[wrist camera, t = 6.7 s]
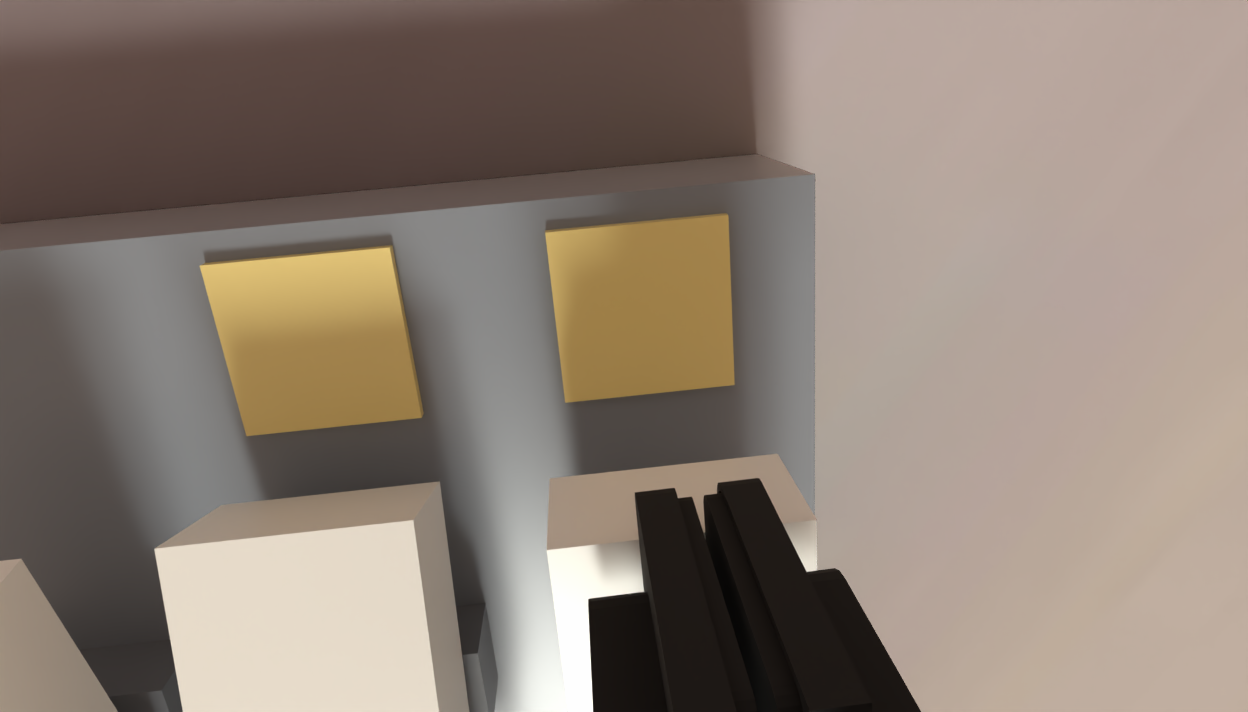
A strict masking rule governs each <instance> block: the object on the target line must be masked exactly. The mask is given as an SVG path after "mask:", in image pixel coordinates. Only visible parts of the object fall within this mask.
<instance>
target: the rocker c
mask: <svg viewBox="0 0 1248 712" xmlns="http://www.w3.org/2000/svg"><path fill="white" fill-rule="evenodd" d="M753 478H759V479H760V480H761V482H762V483H763V486H764V488H765V490H766V492H767V494H768V496H769V498H770V500H771V502H772V504H773V506H774V508H775V510H776V512H777V514H778V516H779V518H780V520H781V522H782V524H783V526H784V528H785V530H786V532H787V534H788V536H789V538H790V540H791V542H792V544H793V546H794V548H795V550H796V552H797V554H798V556H799V558H800V560H801V562H802V564H803V566H804V568H805V570H806V572H809V571H817V519H816V517H815V516H814V514H813V512H812V511H811V509H810V507H809V506H808V504H807V502H806V501H805V499H804V497H803V496H802V494H801V492H800V491H799V489H798V487H797V486H796V484H795V482H794V480H793V479H792V477H791V475H790V474H789V472H788V470H787V469H786V467H785V465H784V464H783V462H782V460H781V459H780V457H779V455H778V454H770V455H761V456H752V457H743V458H733V459H724V460H715V461H706V462H697V463H687V464H678V465H669V466H660V467H651V468H642V469H632V470H623V471H614V472H605V473H596V474H586V475H577V476H568V477H559V478H550V482H549V505H548V528H547V557H548V565H549V572H550V579H551V587H552V594H553V602H554V609H555V616H556V624H557V631H558V639H559V646H560V653H561V661H562V668H563V676H564V683H565V690H566V698H567V705H568V712H593V700H592V678H591V656H590V634H589V613H588V599H590V598H598V597H606V596H614V595H622V594H630V593H638V592H644V587H643V577H642V566H641V556H640V546H639V536H638V526H637V516H636V505H635V492H642V491H651V490H659V489H668V488H675V490H676V493H677V497H678V498H684V497H692V498H693V501H694V504H695V507H696V510H697V514H698V517H699V520H700V523H701V526H702V530H703V533H704V536H705V521H704V504H703V499H704V495H710V494H717V485H718V483H719V482H728V481H736V480H745V479H753ZM705 539H706V536H705Z"/></svg>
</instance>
